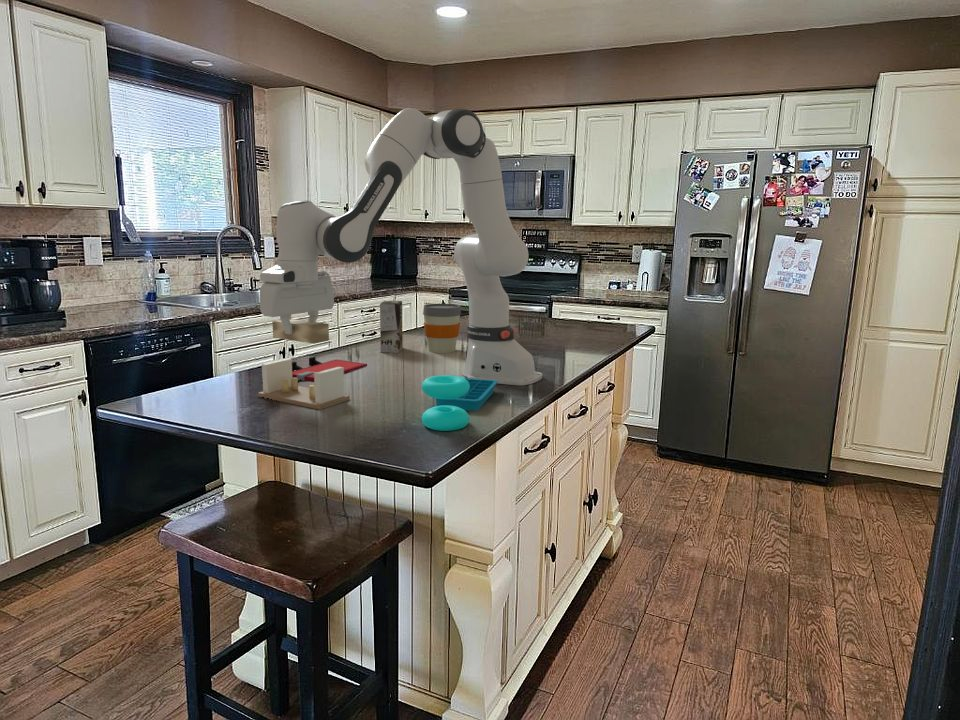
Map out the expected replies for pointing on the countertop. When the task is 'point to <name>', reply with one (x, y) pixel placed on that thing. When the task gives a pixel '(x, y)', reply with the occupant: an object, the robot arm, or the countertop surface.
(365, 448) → the countertop surface
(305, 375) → the red board with handle
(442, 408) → the donuts
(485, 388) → the ice cube tray
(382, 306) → the coffee box
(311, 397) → the cradle
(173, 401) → the countertop surface
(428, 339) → the reusable coffee cup
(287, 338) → the tan wooden block
